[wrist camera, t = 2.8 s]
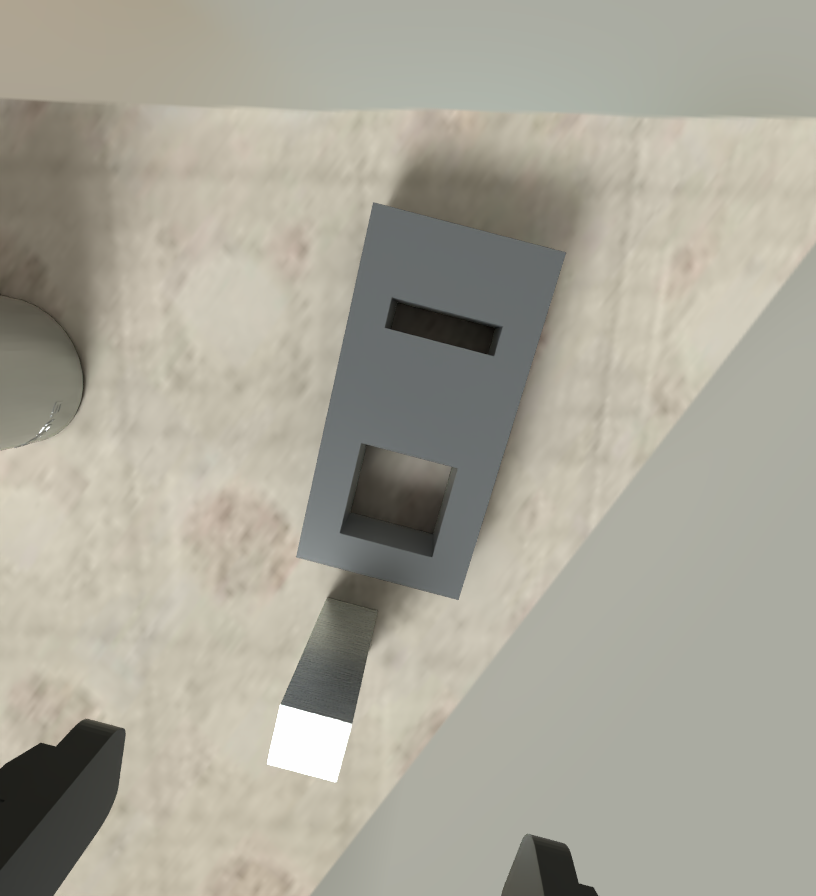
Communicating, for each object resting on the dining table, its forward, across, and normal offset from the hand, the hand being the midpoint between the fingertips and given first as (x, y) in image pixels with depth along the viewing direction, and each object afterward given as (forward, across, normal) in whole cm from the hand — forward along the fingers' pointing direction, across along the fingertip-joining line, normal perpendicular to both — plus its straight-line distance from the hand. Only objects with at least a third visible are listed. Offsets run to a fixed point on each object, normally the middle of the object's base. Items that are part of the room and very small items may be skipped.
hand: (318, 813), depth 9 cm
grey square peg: (+22, -1, -11) cm, 25 cm away
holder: (+22, 0, +5) cm, 23 cm away
